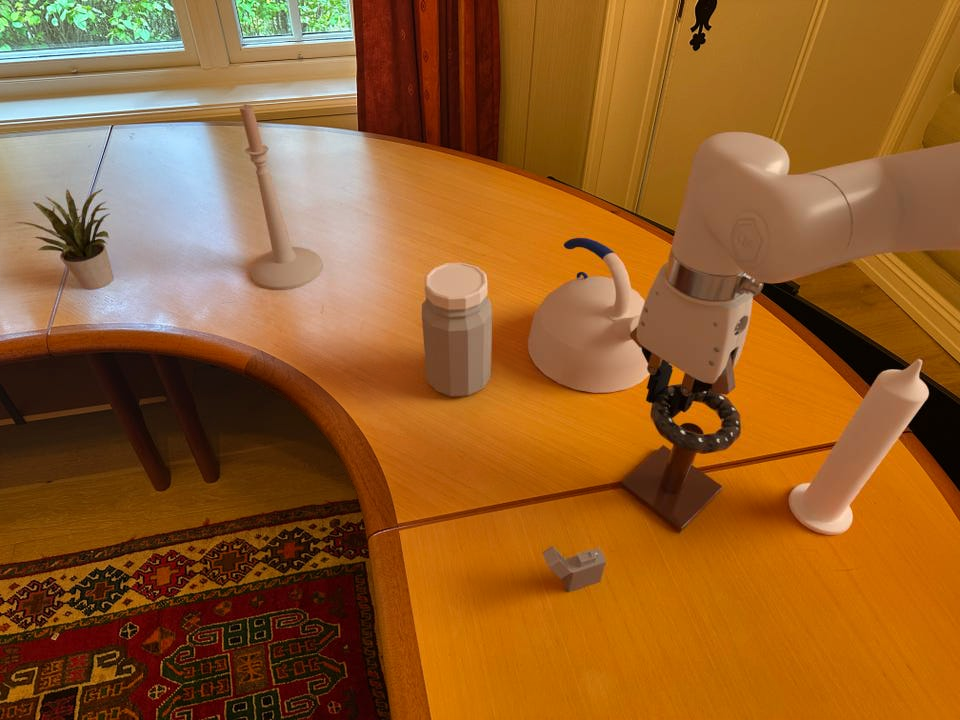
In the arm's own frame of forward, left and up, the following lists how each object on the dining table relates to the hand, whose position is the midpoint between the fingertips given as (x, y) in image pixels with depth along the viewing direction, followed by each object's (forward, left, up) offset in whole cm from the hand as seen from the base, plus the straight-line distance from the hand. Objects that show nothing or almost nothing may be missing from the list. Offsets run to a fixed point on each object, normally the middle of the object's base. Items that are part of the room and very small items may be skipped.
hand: (666, 402), depth 70 cm
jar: (+29, +7, -13) cm, 33 cm away
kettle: (+20, -13, -13) cm, 27 cm away
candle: (-18, -11, -13) cm, 25 cm away
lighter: (-4, +19, -13) cm, 23 cm away
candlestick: (+72, +12, -13) cm, 74 cm away
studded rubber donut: (-4, 0, +1) cm, 4 cm away
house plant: (+91, +38, -13) cm, 100 cm away
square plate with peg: (-4, 0, -13) cm, 13 cm away
